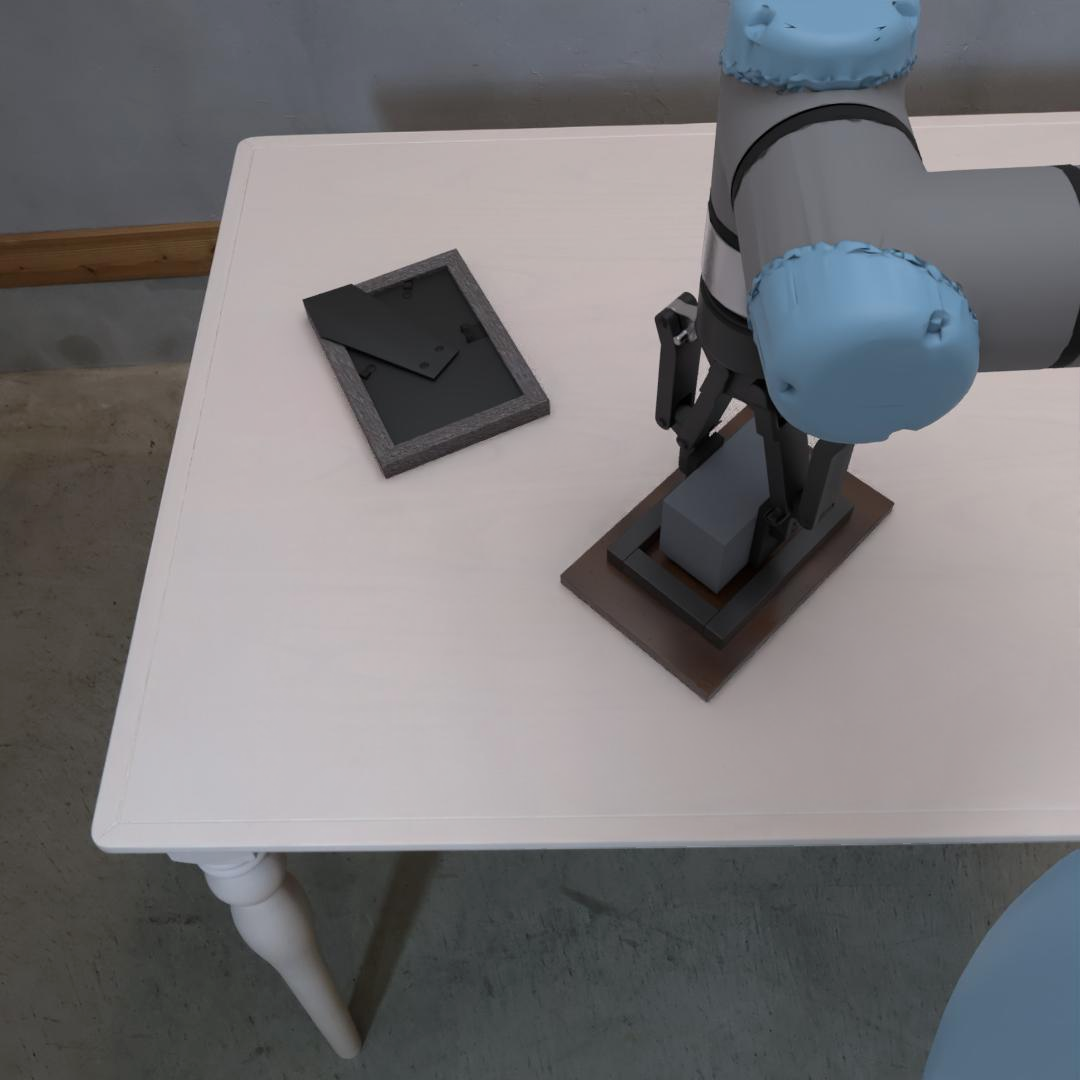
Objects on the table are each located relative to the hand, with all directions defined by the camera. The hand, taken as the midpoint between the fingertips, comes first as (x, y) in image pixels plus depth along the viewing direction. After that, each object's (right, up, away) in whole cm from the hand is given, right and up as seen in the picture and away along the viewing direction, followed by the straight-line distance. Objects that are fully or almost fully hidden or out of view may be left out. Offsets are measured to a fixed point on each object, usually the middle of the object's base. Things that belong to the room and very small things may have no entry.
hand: (731, 527), depth 76 cm
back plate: (0, -1, +2) cm, 2 cm away
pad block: (0, 0, 0) cm, 0 cm away
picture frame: (-22, +13, +12) cm, 28 cm away
